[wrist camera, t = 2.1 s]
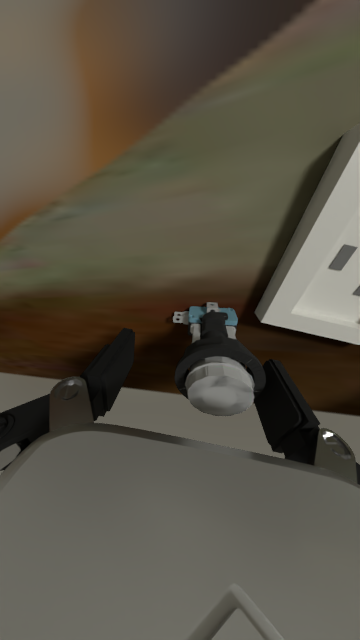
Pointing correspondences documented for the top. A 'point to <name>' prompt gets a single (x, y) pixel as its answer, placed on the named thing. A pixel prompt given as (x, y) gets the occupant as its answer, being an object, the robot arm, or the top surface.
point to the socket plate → (323, 256)
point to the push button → (217, 363)
